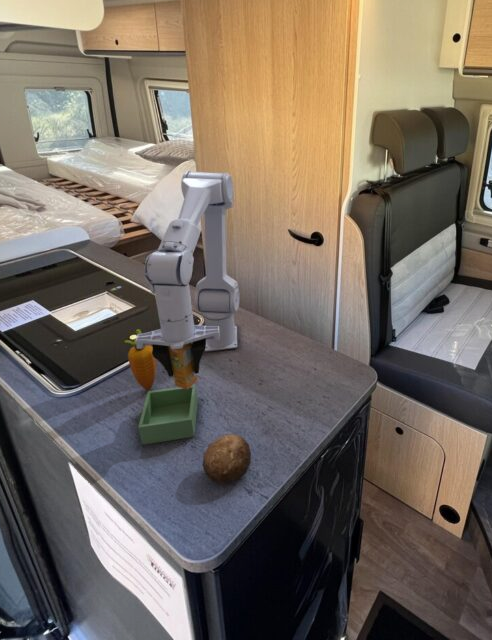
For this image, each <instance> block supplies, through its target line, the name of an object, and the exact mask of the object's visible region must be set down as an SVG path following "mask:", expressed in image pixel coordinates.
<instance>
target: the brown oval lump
mask: <svg viewBox="0 0 492 640" xmlns="http://www.w3.org/2000/svg"><path fill="white" fill-rule="evenodd" d="M251 460H252V452H251V448H250V445H249V443H248V442H247V441H246V439H245V438H244V437H243V436H240V435H238V434H235V433H234V434H230V433H229V434H224V435H222V436H220V437H217V438H216V439H215V440H214V441H212V442H211V443H210V444H209V445H208V447H207V449H206V450H205V452H204V453H203V458H202V467H203V471H204V473H205V474H204V475H205V476H206V477H208V479H210V481H211V482H214V483H217V484H230V483H234V482H237V481H240V480H241V478H242V477H244V476H245V474H246V473H247V472H248V469H249V468H250V465H251V463H252V462H251Z"/></svg>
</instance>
